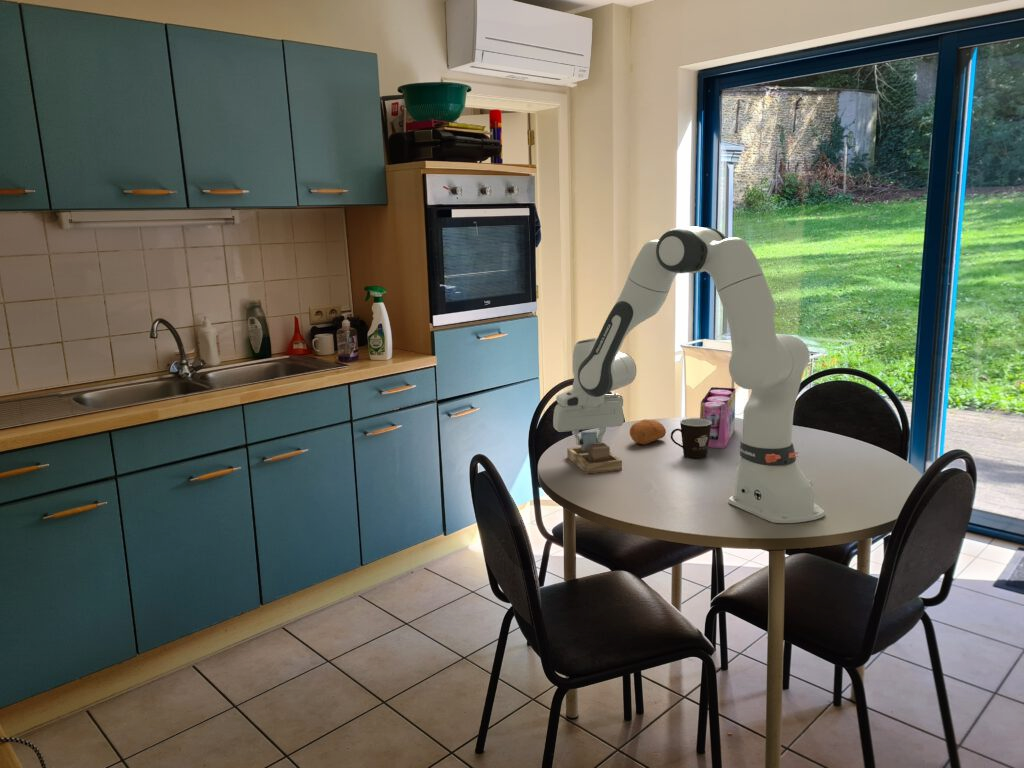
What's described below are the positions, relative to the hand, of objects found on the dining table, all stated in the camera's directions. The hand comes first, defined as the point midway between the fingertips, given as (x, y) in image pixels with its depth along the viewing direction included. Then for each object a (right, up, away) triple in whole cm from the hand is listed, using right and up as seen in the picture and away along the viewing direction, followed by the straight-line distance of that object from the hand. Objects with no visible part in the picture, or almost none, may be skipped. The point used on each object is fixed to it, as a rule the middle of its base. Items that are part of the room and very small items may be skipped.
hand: (588, 443), depth 218 cm
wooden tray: (+1, -5, -3) cm, 6 cm away
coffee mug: (+29, -4, +2) cm, 29 cm away
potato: (+20, -1, +17) cm, 26 cm away
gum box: (+41, 0, +19) cm, 46 cm away
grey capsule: (0, -2, 0) cm, 2 cm away
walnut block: (+2, -5, -6) cm, 8 cm away
